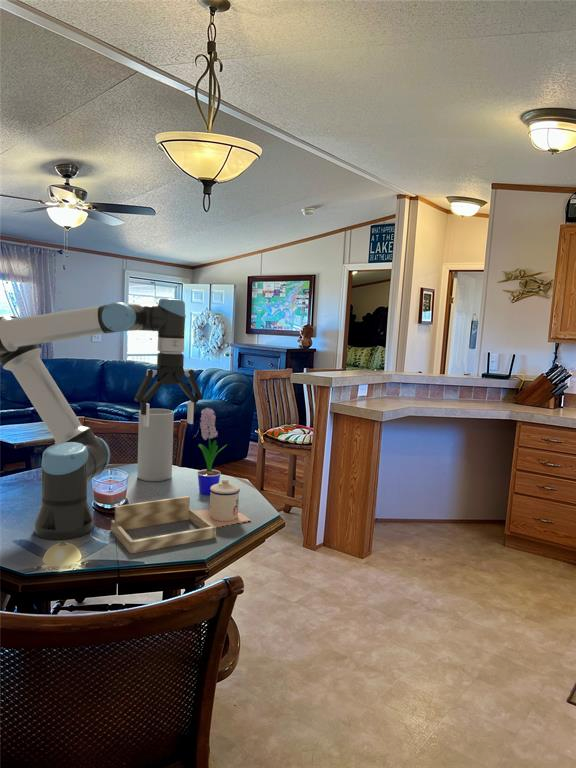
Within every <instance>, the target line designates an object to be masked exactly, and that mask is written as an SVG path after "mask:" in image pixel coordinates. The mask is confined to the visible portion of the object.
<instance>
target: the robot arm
mask: <svg viewBox="0 0 576 768" xmlns="http://www.w3.org/2000/svg"><path fill="white" fill-rule="evenodd" d="M185 327H186V303H185V301H184V300H182V299H177V298H176V299H175V298H159V300H158V304H144V303H143V304H141V303H130V302H122V301H114V302H111V303H109V304H104V305H96V306H90V307H84V308H77V309H70V310H62V311H57V312H50V313H44V314H37V315H31V316H24V317H23V316H22V317H19V316H14V315H13V316H12V315H11V316H10V315H5V316H0V366H1V367H2V369H3V370H6V371H10V372H11V373H12V374H13V376H14V377H15V379H16V380H17V382H18V383H19V385H20V387H21V388H22V389H23V391H24V393H25V395H26V396H27V398H28V400H30V403H31V404H32V406H33V407H34V408H35V410H36V411H35V412H36V413H38V415H39V417H40V418H41V420H42V421H43V423H44V425H45V426H46V428H47V430H48V431H49V432H50V434H51V436H52V438H53V439H54V444H52V445H50V446H48V447H46V449H44V451H43V452H42V458H41V462H40V463H41V464H40V465H41V505H40V508H39V510H38V511H39V512H38V514H37V516H36V518H35V522H34V534H35V535H36V536H38V537H39V538H42V539H48V540H66V539H67V540H68V539H74V538H78V537H82V536H84V535H87V534H89V533H90V532H92V530H93V529H94V518H93V514H92V512H91V509H90V505H89V503H88V482H89V481H91V480H92V479H94V478H95V477H97V476H99V475H100V474H102V473H103V471H105V469H106V468H107V467H108V465H109V463H110V459H111V451H110V447H109V445H108V443H107V442H106V441H105V440H104V439H103V438H101V437H98V436H96V435H95V434H94V432H93V431H92V429H91V428H90V427H89V426H84V425H82V422H80V420H79V417H77V415H76V413H75V412H74V410H73V409H72V407H71V405H70V404H69V402H68V400H67V399H66V397H65V396H64V394H63V392H62V391H61V389H60V388H59V387H58V385H57V383H56V381H55V380H54V378H53V377H52V375H51V374H50V372H49V370H48V369H47V367H46V365H45V364H44V362H43V361H42V359H41V353H42V349H41V347H40V344H45V343H54V342H59V341H65V340H73V339H78V338H84V337H85V338H86V337H93V336H98V335H99V336H100V335H104V334H105V335H106V334H113V333H120V332H127V331H131V332H132V331H148V332H157V351H158V353H157V357H156V358H157V360H156V361H157V363H156V366H157V367H156V370H155V369H150V368H147V369H146V370H145V376H144V379H143V380H142V383H141V384H140V386H139V388H138V389H137V392H136V394H135V395H134V397H133V398H134V399H133V400H134V401H135V402H137V403H140V410H141V411H140V410H139V411H140V413H141V414H142V415H144V416H143V425H144V426H146V427H149V409H151V408H150V403H148V402H150V400H151V399H152V397H153V396H154V395H155V394H156V393H157V392H158V390H159V389H161V387H162V386H163V385H165V386H170V385H174V386H176V385H178V386H179V387H180V389H181V390H182V391H183V393H184V394H185V395H186V396H187V397H188V399H189V401H187V413H186V414H187V417H186V418H187V419H186V423H188V424H190V425H193V424H194V413H196V412H197V403H199V401H202V400H203V398H204V397H203V394H202V392H201V390H200V388H199V384H198V383H197V380H196V379H195V375H194V373H195V372H194V370H193V369H191V368H186V369H184V364H185V363H184V362H185V361H184V360H185V359H184V357H185V356H184V354H183V353H184V352H185ZM155 375H156V377H157V378H156V380H155V381H154V383H153V384H152V385H151V386H149V385H150V384H151V381H152V379H153V378H154V377H155ZM184 375H185V377H186V379H187V380H188V383H189V386H190V387H191V389H190V388H189V387H188V385H187V384H186V382H185V381H184V379H183V377H184ZM148 387H149V389H148ZM147 389H148V390H147ZM191 390H192V391H191Z"/></svg>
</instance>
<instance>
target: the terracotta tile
mask: <svg viewBox="0 0 576 768" xmlns="http://www.w3.org/2000/svg"><path fill="white" fill-rule="evenodd" d="M194 511H195V512H197V513H198V514H199V515H201V516H202V517H203V518H204V519H206V520H207V521H208V522H210V523H211V524H212V525H214V526H215V527H216V529H218V528H223V527H222V526H224V527H227V526H226V525H229V526H232V525H231V524H235V525H237V524H236V523H240V524H243V523H242V522H246V523H249V522H248V521H251V522H252V519H251V518H249V517H248V516H247V515H245V514H243V513H241V512H240V511H238V517H237V518H236V519H235V520H232V521H216V520H213V519H212V518H210V508H204V509H198V510H194ZM217 527H218V528H217Z"/></svg>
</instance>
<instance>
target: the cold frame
mask: <svg viewBox="0 0 576 768" xmlns="http://www.w3.org/2000/svg"><path fill="white" fill-rule="evenodd" d="M190 500H191V497H190V496H189V495H187V496H179V497H173V498H163V499H157V500H149V501H143V502H136V503H128V504H122V505H115V506H114V519H112V520H111V523H110V531H111V532H112V534H113V535H114V536H115V537H116V539H117V540H118V541H119V542H120V543H121V544H122V545H123V547H124V548H125V549H126V551H127V552H128V553H129V554H130V555H132V554H136V553H142V552H143V553H144V552H146V551H153V550H157V549H158V550H159V549H163V548H168V547H173V546H178V545H179V546H180V545H184V544H190V543H193V542H194V543H195V542H199V541H205V540H210V539H216V537H217V528H216V527H215V526H214V525H212V524H211V523H210V522H208V521H207V520H206V519H204V518H203V517H202V516H201V515H199V514H198V513H197V512H195V511H196V510H194V509H193V508H190V505H191V504H190ZM187 520H189V521H190V522H192V524H194V525H196V527H198V528H196V529H190V530H186V531H184V530H183V531H180V532H179V531H177V532H173V533H168V534H164V535H163V534H162V535H157V536H152V537H144V538H140V539H134V540H133V538H131V536H130V534H128V533H127V532H126V531H127V530H128V531H129V530H134V529H139V528H140V529H141V528H144V527H145V528H146V527H151V526H157V525H164V524H169V523H170V524H171V523H175V522H181V521H182V522H183V521H187Z"/></svg>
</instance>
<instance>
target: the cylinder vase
mask: <svg viewBox="0 0 576 768" xmlns="http://www.w3.org/2000/svg"><path fill="white" fill-rule="evenodd" d="M140 411H141V409H140V410H138V430H137V431H138V434H137V435H138V436H137V437H138V439H137V440H138V441H137V478H138V479H140V480H141V481H145V482H152V483H155V482H163V481H167V480H170V479H171V478H172V475H173V452H174V451H173V448H174V447H173V446H174V445H173V444H174V417H175V412H174V410H170V409H167V408H149V427H146V426H144V425H143V416H144V415H142V414H141V413H140Z"/></svg>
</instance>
